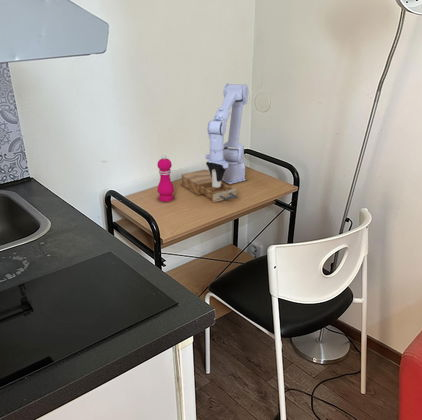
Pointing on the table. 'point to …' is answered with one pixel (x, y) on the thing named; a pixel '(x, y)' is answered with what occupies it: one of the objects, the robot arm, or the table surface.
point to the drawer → (218, 192)
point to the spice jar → (215, 180)
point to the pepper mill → (165, 180)
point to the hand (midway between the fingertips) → (216, 179)
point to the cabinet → (196, 180)
